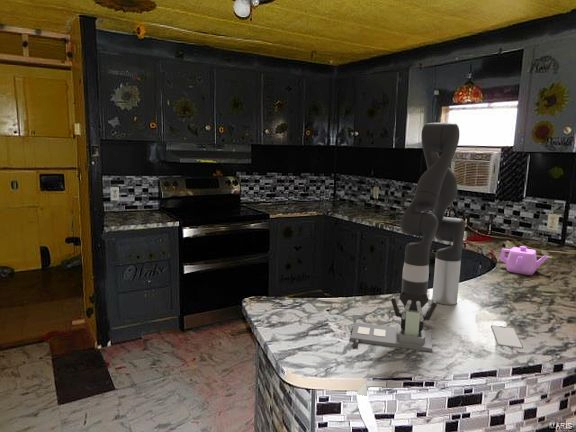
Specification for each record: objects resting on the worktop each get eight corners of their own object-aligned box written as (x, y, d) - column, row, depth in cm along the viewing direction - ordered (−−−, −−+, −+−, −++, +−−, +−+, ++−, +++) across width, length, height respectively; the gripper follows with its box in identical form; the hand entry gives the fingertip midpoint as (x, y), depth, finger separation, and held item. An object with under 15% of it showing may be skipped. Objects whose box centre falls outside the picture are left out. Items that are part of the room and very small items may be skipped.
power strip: (354, 325, 141) (354, 317, 141) (429, 334, 135) (430, 326, 135) (349, 346, 126) (349, 337, 125) (433, 358, 120) (434, 348, 120)
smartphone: (497, 344, 129) (490, 324, 143) (497, 346, 129) (490, 326, 144) (524, 348, 127) (514, 328, 141) (523, 350, 127) (514, 329, 141)
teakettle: (523, 265, 221) (526, 242, 219) (548, 275, 205) (551, 250, 203) (494, 266, 218) (496, 243, 216) (517, 276, 202) (520, 251, 200)
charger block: (404, 330, 133) (406, 306, 132) (417, 332, 132) (419, 307, 131) (404, 336, 129) (406, 310, 128) (418, 337, 128) (420, 312, 127)
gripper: (438, 276, 130) (434, 328, 132) (391, 271, 133) (388, 322, 136) (441, 283, 123) (436, 338, 125) (391, 278, 126) (387, 332, 129)
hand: (411, 330), depth 131 cm, fingers closed on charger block, 3 cm apart
